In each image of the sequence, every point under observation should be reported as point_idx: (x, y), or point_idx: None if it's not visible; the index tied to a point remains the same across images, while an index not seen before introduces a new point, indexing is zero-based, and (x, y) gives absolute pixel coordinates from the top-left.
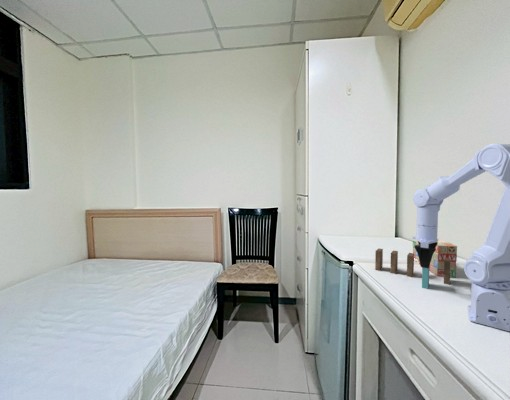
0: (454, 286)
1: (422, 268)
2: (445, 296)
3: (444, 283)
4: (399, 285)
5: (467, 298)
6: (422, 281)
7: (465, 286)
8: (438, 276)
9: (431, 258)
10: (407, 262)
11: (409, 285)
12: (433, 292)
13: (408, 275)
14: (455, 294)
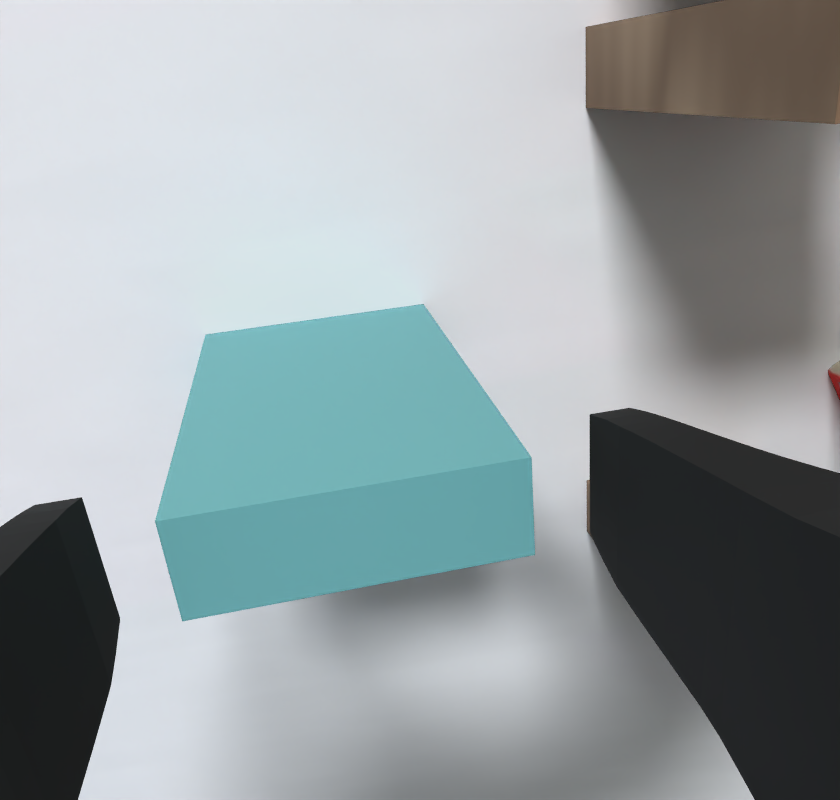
0: (557, 574)
1: (170, 473)
2: (130, 587)
3: (588, 487)
4: (3, 44)
5: (263, 718)
6: (195, 374)
7: (632, 637)
8: (832, 381)
9: (634, 607)
10: (724, 9)
11: (152, 176)
12: (148, 475)
13: (594, 53)
14: (291, 633)
